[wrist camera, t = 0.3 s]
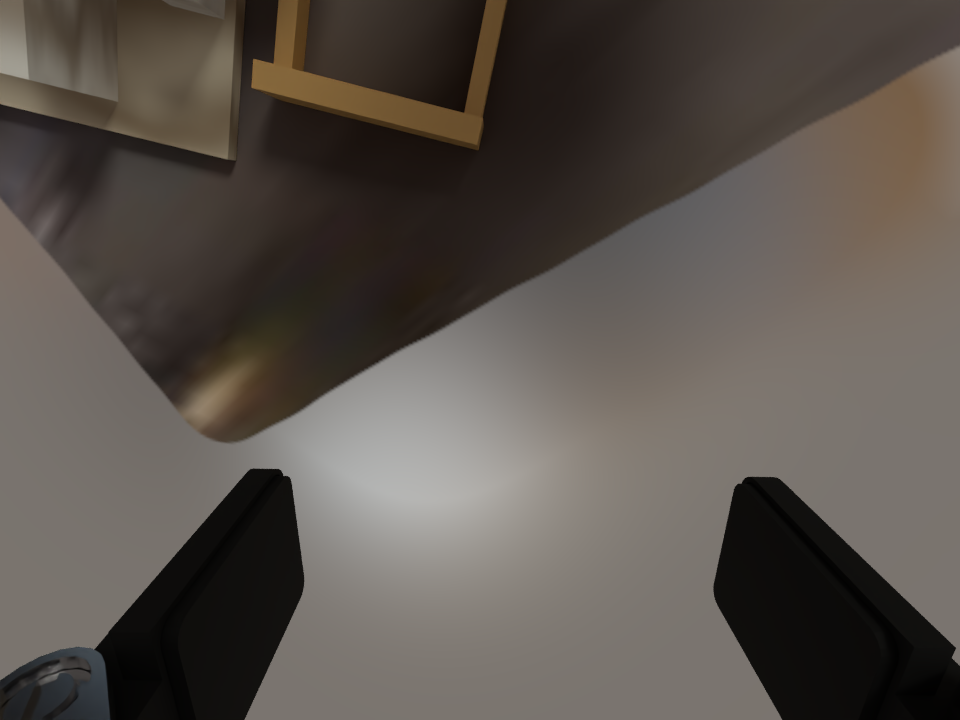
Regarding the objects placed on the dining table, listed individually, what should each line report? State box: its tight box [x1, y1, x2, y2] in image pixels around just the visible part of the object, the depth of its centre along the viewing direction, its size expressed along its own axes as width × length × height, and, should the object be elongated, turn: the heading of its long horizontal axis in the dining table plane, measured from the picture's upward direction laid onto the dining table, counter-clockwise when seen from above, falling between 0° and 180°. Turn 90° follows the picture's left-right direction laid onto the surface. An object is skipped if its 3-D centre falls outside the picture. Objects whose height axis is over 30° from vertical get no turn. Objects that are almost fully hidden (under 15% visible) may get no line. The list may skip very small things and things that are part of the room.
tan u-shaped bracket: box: [251, 0, 508, 151], centre depth 30 cm, size 12×14×4 cm
